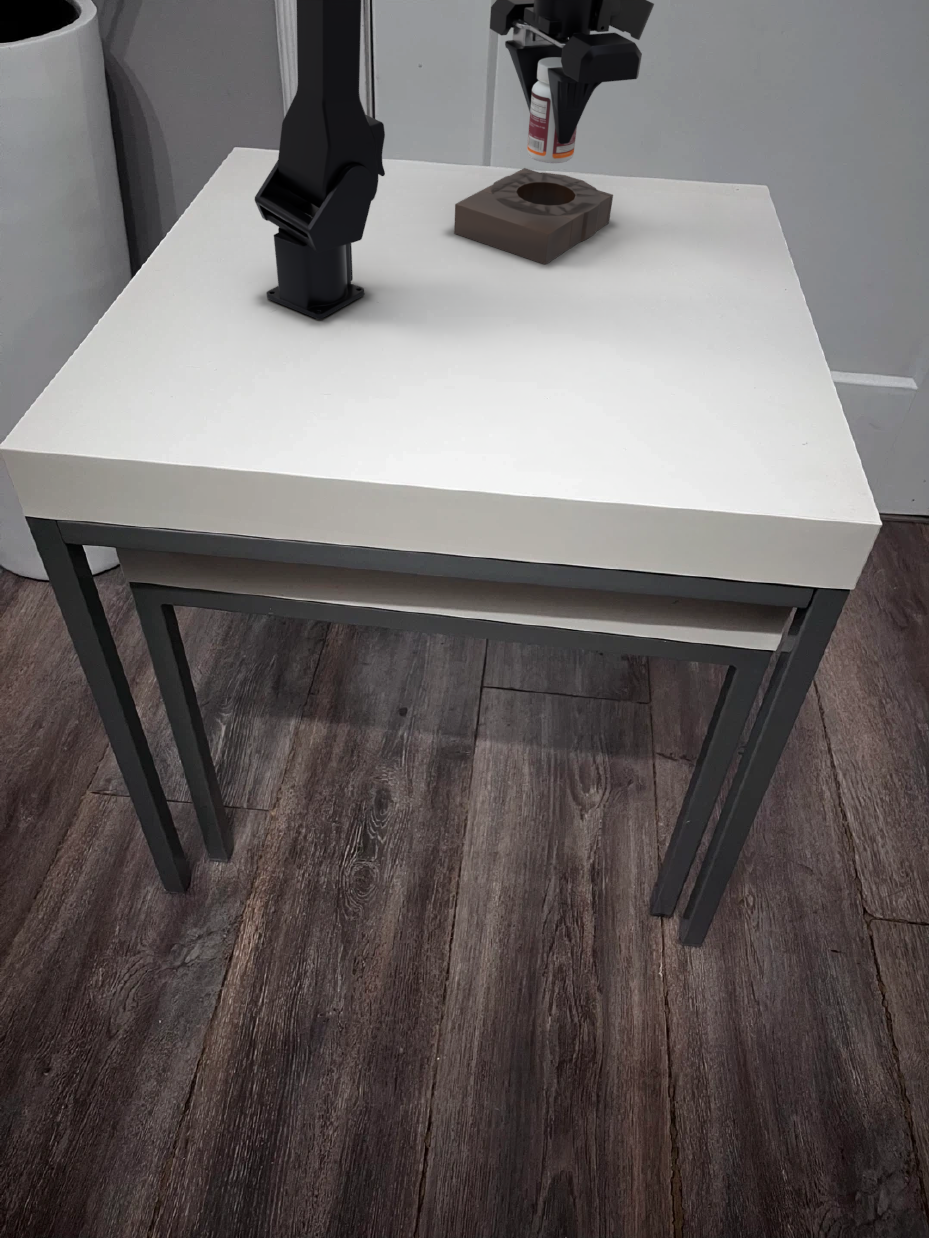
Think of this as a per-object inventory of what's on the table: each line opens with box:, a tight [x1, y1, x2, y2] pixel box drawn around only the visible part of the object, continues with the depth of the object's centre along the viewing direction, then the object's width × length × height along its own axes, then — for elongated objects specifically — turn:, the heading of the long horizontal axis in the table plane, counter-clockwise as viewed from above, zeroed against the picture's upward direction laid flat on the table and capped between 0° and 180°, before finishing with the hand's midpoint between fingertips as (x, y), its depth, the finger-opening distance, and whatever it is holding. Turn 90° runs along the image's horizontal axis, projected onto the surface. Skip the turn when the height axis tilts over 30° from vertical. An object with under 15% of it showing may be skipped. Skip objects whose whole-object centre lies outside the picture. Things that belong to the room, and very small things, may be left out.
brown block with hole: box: [453, 167, 614, 265], centre depth 100 cm, size 14×11×3 cm
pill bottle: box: [526, 57, 578, 164], centre depth 94 cm, size 5×5×8 cm
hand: (551, 134), depth 96 cm, fingers closed on pill bottle, 5 cm apart
